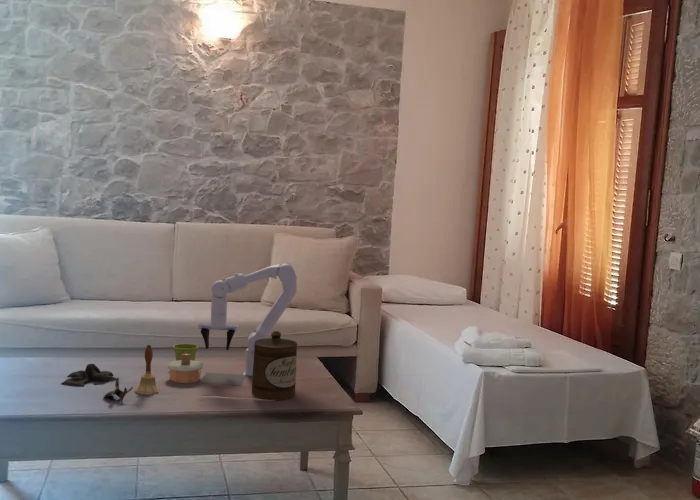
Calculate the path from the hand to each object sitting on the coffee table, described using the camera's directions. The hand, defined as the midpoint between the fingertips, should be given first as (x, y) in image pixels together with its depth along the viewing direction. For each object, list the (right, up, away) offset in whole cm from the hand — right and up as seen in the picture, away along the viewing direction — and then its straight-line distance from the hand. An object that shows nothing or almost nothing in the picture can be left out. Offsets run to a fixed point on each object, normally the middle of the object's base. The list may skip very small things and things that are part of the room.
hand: (217, 348), depth 279 cm
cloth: (-41, -9, -16) cm, 45 cm away
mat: (+3, -10, -8) cm, 14 cm away
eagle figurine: (-26, -12, -37) cm, 47 cm away
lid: (-9, -5, -12) cm, 16 cm away
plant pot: (-13, -8, +6) cm, 17 cm away
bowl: (-10, -10, -11) cm, 18 cm away
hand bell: (-19, -11, -27) cm, 35 cm away
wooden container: (+23, -13, -22) cm, 35 cm away
